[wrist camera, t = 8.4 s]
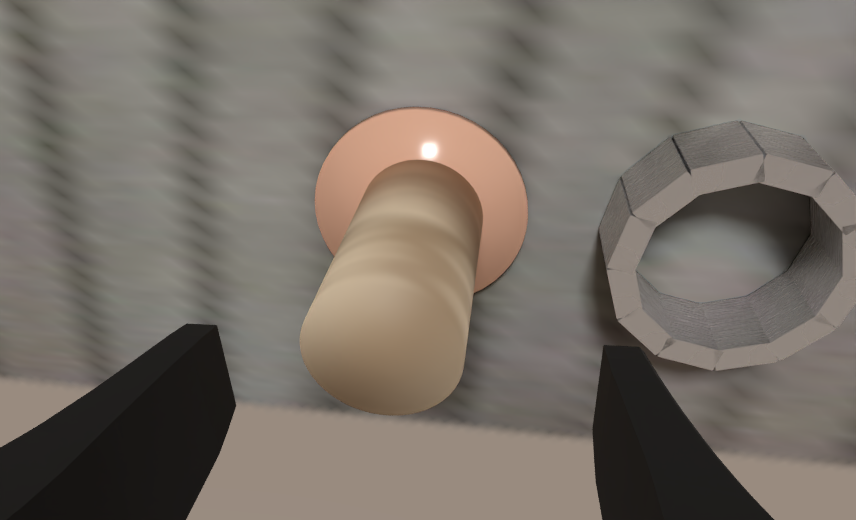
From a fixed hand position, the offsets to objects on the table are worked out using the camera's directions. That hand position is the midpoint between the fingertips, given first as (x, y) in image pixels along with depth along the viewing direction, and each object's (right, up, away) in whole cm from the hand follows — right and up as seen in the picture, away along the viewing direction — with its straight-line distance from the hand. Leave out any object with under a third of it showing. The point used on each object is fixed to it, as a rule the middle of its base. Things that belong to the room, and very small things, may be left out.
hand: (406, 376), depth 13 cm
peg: (0, +4, +9) cm, 10 cm away
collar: (+10, +3, +9) cm, 14 cm away
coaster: (0, +4, +10) cm, 11 cm away
